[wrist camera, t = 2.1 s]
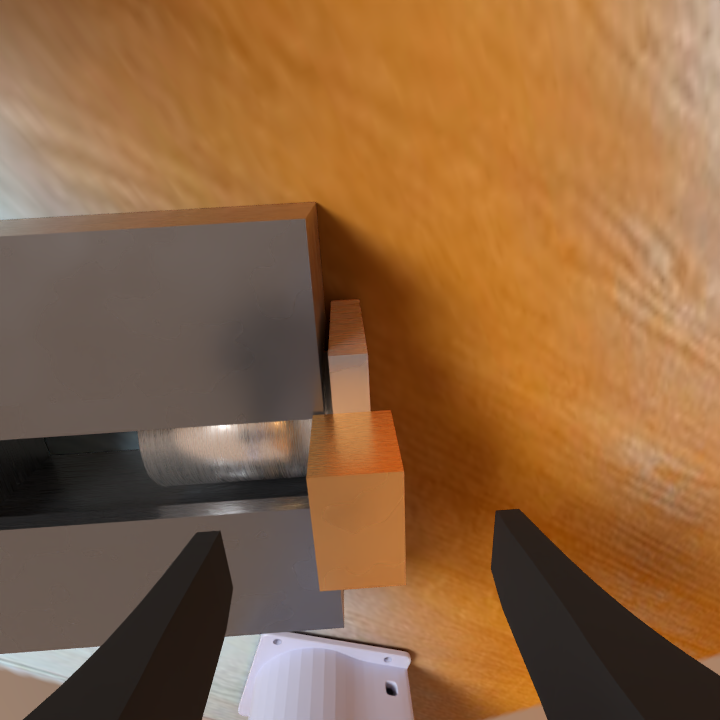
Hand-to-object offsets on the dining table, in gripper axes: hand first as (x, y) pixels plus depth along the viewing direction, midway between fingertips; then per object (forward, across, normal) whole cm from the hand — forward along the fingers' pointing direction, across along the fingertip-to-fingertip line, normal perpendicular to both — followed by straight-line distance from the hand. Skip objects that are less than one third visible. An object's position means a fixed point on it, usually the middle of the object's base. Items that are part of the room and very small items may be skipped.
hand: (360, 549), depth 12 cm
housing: (+10, +9, 0) cm, 14 cm away
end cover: (+10, +3, 0) cm, 10 cm away
